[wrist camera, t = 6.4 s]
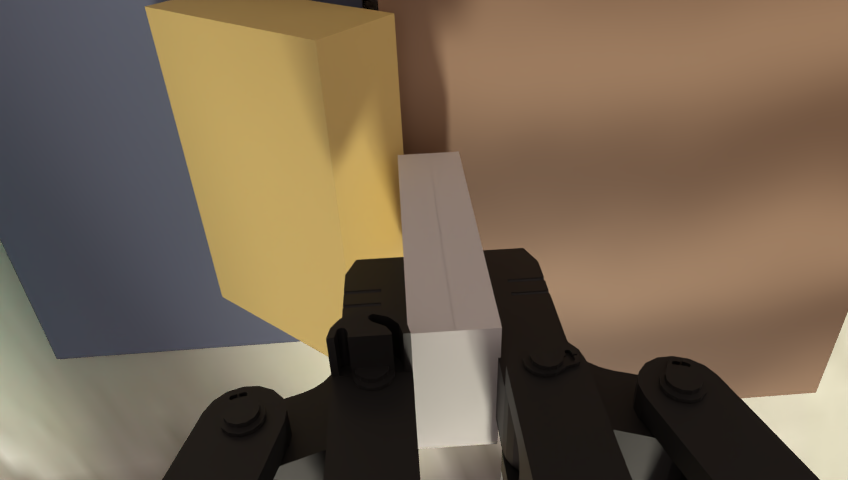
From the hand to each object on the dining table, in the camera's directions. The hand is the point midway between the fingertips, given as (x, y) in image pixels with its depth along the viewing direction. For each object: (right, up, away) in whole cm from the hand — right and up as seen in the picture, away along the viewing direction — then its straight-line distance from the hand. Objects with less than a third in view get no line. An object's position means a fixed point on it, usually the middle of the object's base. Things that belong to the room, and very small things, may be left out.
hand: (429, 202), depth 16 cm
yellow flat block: (-3, +1, +2) cm, 4 cm away
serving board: (+6, +3, +4) cm, 8 cm away
